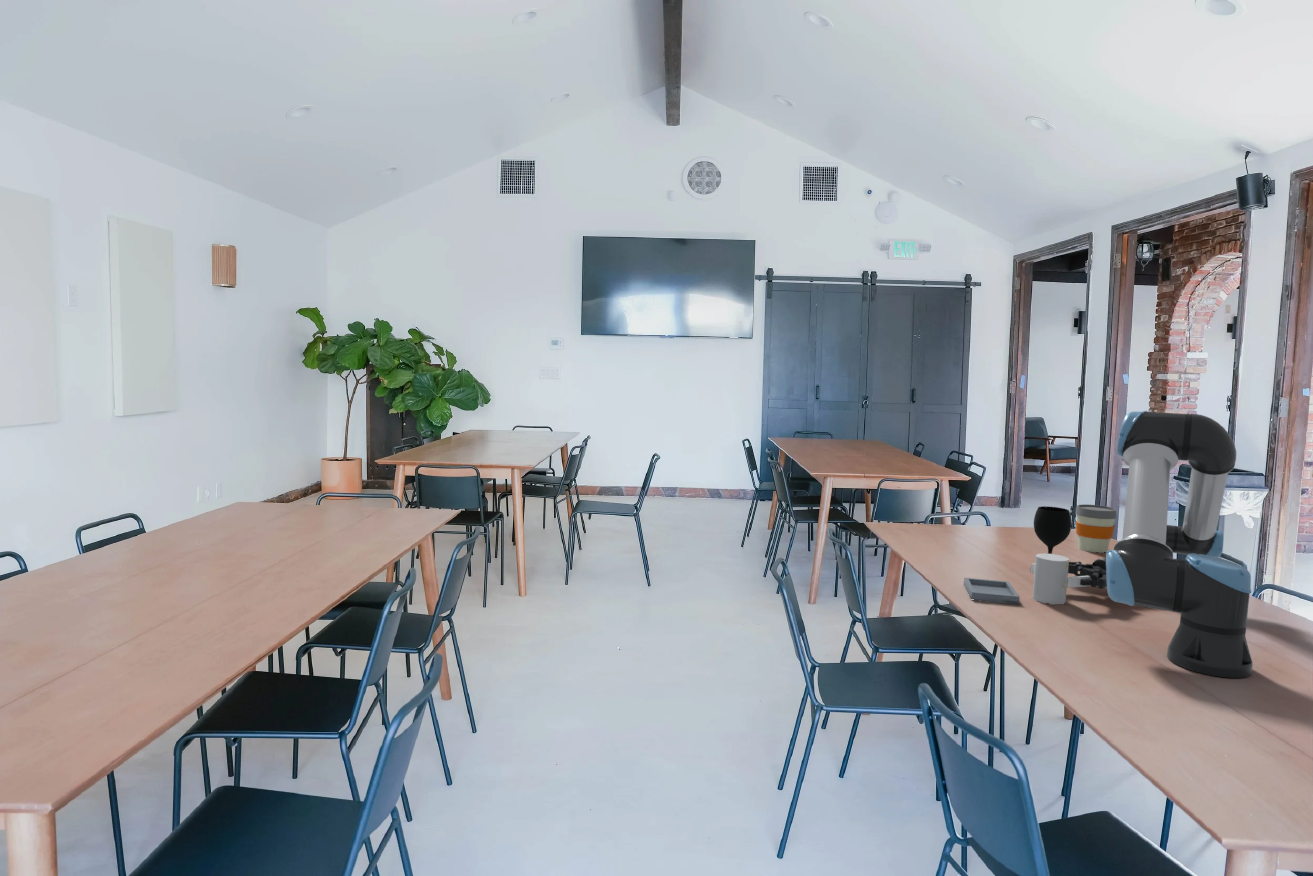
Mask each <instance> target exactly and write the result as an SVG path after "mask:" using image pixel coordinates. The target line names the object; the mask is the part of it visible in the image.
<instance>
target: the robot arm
mask: <svg viewBox="0 0 1313 876" xmlns="http://www.w3.org/2000/svg"><path fill="white" fill-rule="evenodd" d="M1117 441H1118V442H1117V447H1116V453H1117V455H1118V456H1120V457H1122V459H1123V462H1124V463H1125V465H1126V466H1127V467H1128V475H1127V486H1126V497H1125V499H1126V500H1125V506H1124V507H1125V508H1124V518H1123V530H1122V539H1121V540H1118V541H1117V542H1116V543H1115V544H1114V547H1113V549H1108V550H1107V552H1105V557H1104V558H1098V559H1097V558H1096V559H1095V560H1094V561H1093V562H1092V563H1083V562H1082V561H1069V566H1068V575H1069V574H1070V575H1073V576H1068V578H1067V588H1083V587H1091V588H1092V587H1093V588H1096V587H1097V588H1098V589H1100V590H1104V589H1107V595H1108V597H1109V598H1110V600H1111V601H1112V602H1115V603H1120V604H1124V605H1128V606H1130V607H1133V606H1134V607H1135V606H1136V607H1141V608H1145V609H1146V608H1147V609H1148V608H1149V609H1154V610H1158V611H1159V610H1160V611H1164V612H1165V611H1166V612H1172V613H1178V614H1180V617H1179V618H1180V620H1179V624H1178V627H1177V628H1176V630H1175V631H1174V634H1173V637H1172V638H1171V640H1170V642H1169V643H1168V647H1167V652H1166V653H1167V654H1166V658H1167V659H1168V660H1169V661H1170V662H1172V663H1173V664H1175V665H1177V666H1179V667H1182V668H1185V669H1186V670H1190V671H1192V672H1193V671H1194V672H1196V673H1200V674H1203V675H1209V676H1214V677H1220V678H1227V679H1231V678H1232V679H1243V678H1248V677H1250V676H1251V675H1252V673H1253V666H1254V665H1253V659H1252V656H1251V653H1250V649H1249V645H1248V641H1247V637H1246V632H1247V630H1246V629H1247V626H1248V625H1247V624H1248V611H1249V603H1250V594H1252V589H1251V588H1252V587H1251V583H1252V576H1251V573H1250V571H1249V570H1248V569H1247V568H1246V567H1245V566H1243V565H1240V564H1238V563H1236V562H1233V561H1230V560H1227V559H1224V558H1221V555H1222V553H1223V547H1224V534H1223V532H1222V531H1221V530H1217V529H1218V525H1219V519H1220V514H1221V509H1222V505H1223V501H1224V500H1223V499H1224V494H1225V489H1226V486H1227V479H1228V474H1229V473H1231V471H1233V470H1234V468H1235V465H1236V462H1237V450H1236V444H1235V443H1234V440H1233V438H1232V437H1231V434H1230V433H1229V432H1228V430H1226V429H1225V427H1224V426H1222V425H1221V424H1220V423H1219V422H1218V421H1216V420H1215V419H1213V418H1211V417H1208V416H1207V415H1206V416H1205V415H1202V414H1198V413H1197V414H1196V413H1176V412H1175V413H1174V412H1158V411H1155V412H1154V411H1148V410H1143V411H1131V412H1128V413H1126V414H1125V416H1124V418H1123V420H1122V423H1121V427H1120V431H1119V436H1118V440H1117ZM1179 461H1185V462H1186V461H1187V462H1188V465H1189V466H1190V468H1191V471H1190V478H1189V484H1188V490H1187V491H1188V492H1187V497H1186V503H1185V511H1184V516H1183V523H1182V526H1180V525H1178V526H1177V525H1173V524H1168V513H1169V512H1168V510H1169V497H1170V496H1169V493H1170V492H1169V491H1170V478H1171V477H1170V476H1171V470H1172V469H1173V468H1175V467H1176V466H1177V464H1178V462H1179ZM1174 554H1181V555H1185V558H1184V559H1179V558H1174ZM1030 568H1031V570H1030V574H1033V575H1034V571H1035V562H1034V563H1030ZM1078 572H1079V573H1078Z"/></svg>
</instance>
